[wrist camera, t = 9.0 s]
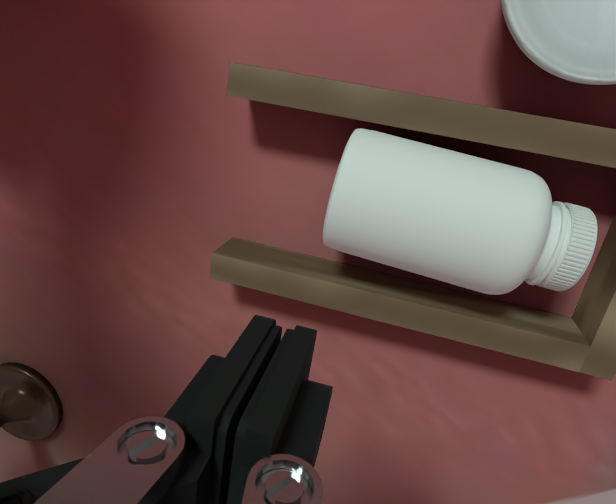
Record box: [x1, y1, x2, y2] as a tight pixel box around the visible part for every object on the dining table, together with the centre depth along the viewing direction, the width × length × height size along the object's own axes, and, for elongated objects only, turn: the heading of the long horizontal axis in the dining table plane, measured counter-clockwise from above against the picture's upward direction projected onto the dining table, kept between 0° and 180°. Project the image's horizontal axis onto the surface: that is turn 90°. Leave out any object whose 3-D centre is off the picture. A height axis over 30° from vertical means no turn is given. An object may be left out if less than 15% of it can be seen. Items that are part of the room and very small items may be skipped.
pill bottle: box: [323, 128, 598, 295], centre depth 29 cm, size 8×8×15 cm
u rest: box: [210, 62, 616, 381], centre depth 31 cm, size 15×28×4 cm, turn 81°
